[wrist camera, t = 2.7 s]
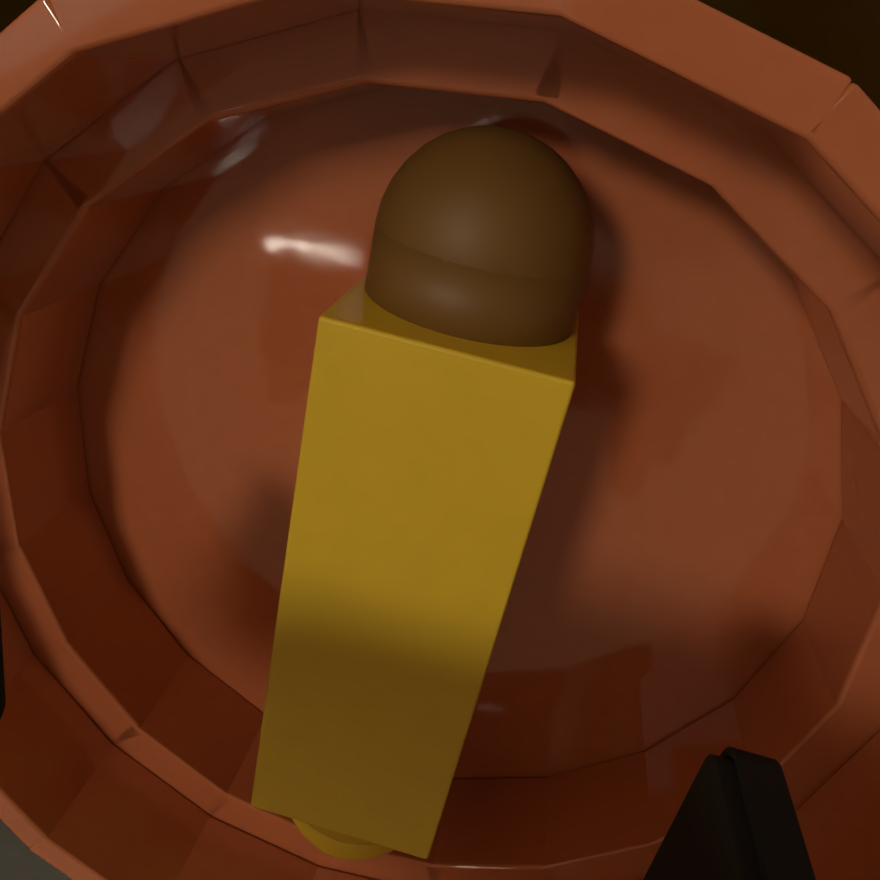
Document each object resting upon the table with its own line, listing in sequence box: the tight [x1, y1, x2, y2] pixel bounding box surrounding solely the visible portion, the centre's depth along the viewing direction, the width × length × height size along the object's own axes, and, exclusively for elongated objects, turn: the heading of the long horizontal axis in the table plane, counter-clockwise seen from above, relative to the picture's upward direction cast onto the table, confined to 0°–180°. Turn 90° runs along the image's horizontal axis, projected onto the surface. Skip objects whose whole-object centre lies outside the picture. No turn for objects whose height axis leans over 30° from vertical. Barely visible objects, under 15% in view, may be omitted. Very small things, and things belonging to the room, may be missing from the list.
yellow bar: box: [251, 125, 594, 861], centre depth 13 cm, size 14×3×4 cm, turn 168°
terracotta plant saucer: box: [0, 0, 880, 880], centre depth 13 cm, size 17×17×5 cm
